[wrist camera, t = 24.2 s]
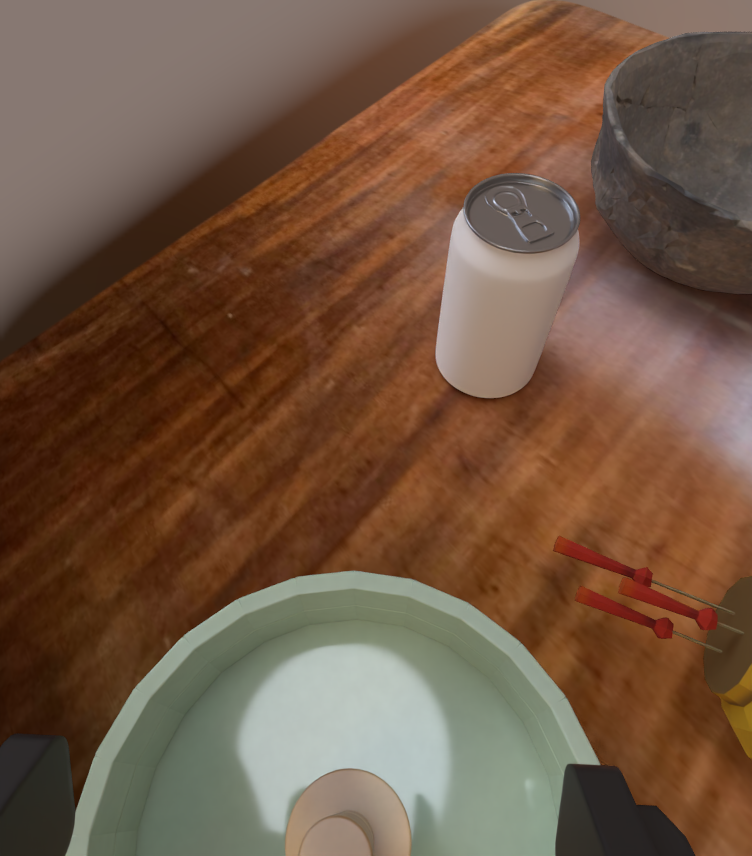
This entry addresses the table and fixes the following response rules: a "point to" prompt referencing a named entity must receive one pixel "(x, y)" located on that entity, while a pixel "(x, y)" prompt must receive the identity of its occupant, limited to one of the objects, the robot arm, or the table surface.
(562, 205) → the can
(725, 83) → the bowl
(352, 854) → the wooden stamp
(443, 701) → the mixing bowl
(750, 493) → the table surface
